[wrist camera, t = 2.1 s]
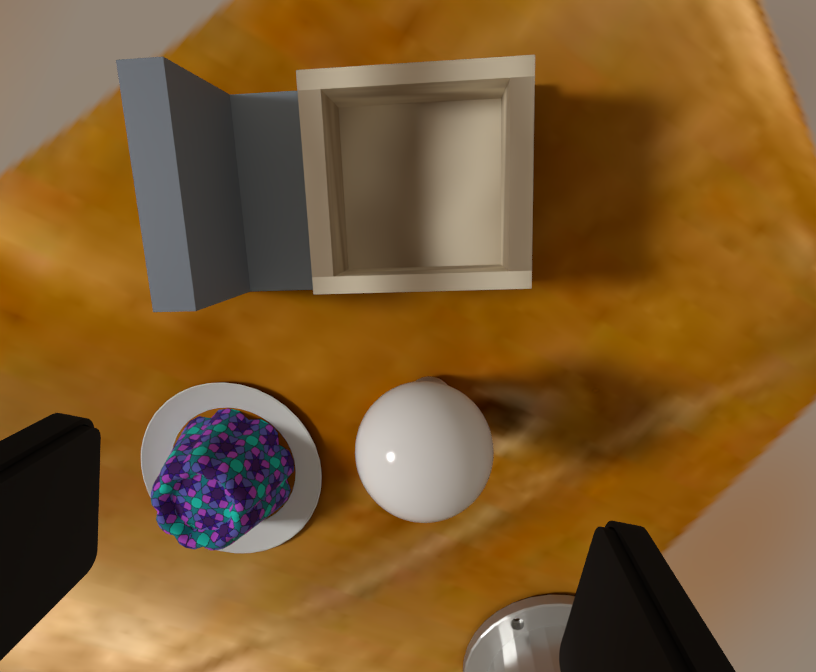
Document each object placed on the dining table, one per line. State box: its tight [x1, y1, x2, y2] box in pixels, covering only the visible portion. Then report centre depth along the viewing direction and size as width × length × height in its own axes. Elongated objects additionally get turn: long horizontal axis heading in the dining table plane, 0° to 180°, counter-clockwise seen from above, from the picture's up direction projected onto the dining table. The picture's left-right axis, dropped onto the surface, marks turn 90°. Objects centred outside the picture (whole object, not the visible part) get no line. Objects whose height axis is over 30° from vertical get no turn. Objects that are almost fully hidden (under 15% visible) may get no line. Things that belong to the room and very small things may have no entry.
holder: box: [296, 55, 535, 294], centre depth 25 cm, size 10×10×5 cm
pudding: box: [141, 383, 322, 553], centre depth 31 cm, size 12×12×5 cm
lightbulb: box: [355, 376, 494, 523], centre depth 26 cm, size 6×6×11 cm
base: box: [116, 57, 313, 312], centre depth 25 cm, size 18×10×8 cm, turn 92°
